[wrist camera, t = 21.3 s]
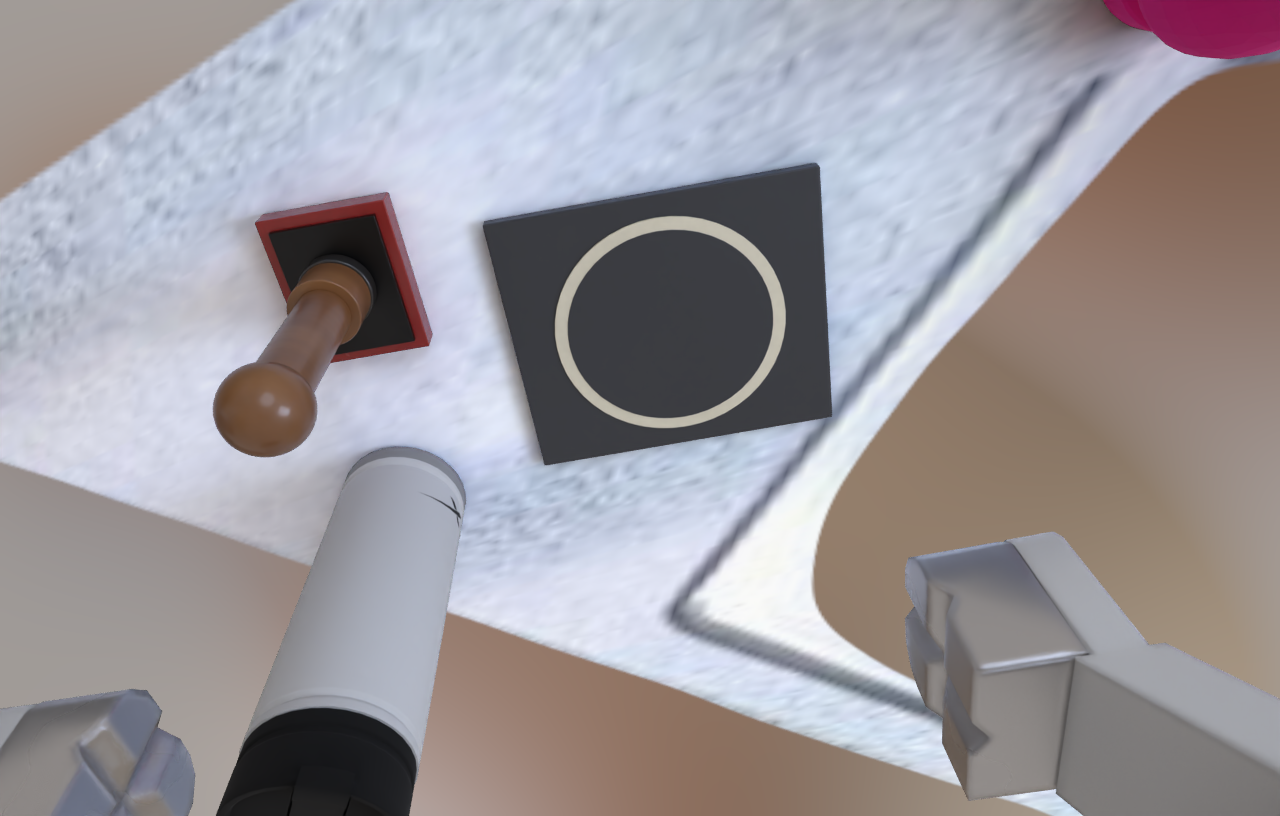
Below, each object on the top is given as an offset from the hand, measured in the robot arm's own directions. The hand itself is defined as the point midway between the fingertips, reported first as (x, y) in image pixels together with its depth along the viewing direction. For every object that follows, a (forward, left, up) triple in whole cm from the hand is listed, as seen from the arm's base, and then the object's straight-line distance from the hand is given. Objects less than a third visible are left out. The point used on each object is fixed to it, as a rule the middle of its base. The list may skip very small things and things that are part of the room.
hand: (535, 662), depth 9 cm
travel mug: (+18, -12, -31) cm, 38 cm away
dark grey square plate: (+11, +3, -31) cm, 33 cm away
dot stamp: (+6, -11, -30) cm, 32 cm away
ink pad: (+6, -11, -31) cm, 33 cm away
